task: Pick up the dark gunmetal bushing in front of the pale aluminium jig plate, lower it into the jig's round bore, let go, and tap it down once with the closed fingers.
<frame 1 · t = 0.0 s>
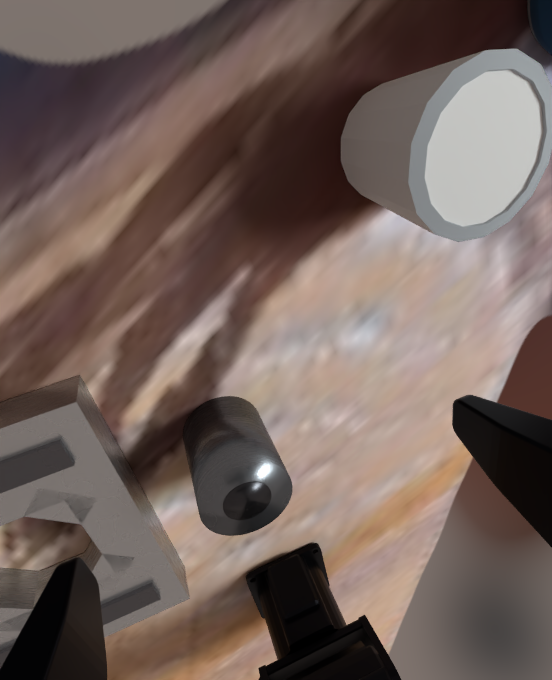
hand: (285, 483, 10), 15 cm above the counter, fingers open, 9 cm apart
white cylinder: (386, 144, 22), on the counter
bushing: (222, 429, 27), on the counter
jig: (35, 529, 26), on the counter
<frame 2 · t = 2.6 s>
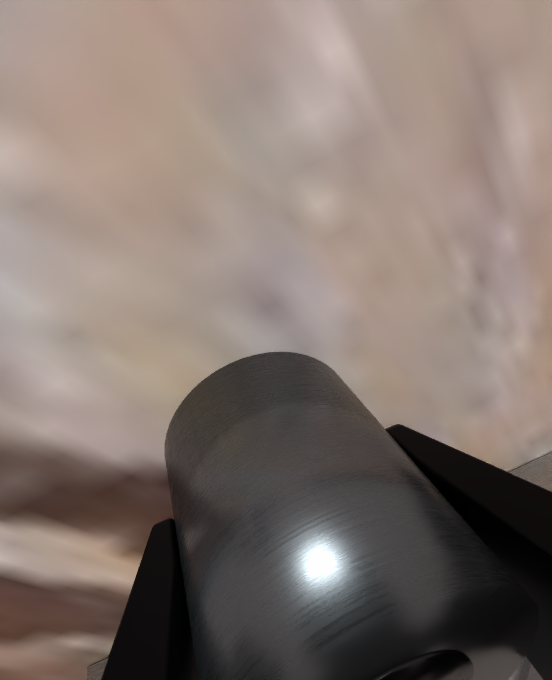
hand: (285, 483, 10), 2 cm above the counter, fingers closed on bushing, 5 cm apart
bushing: (264, 437, 11), on the counter, touching gripper
jig: (369, 634, 18), on the counter
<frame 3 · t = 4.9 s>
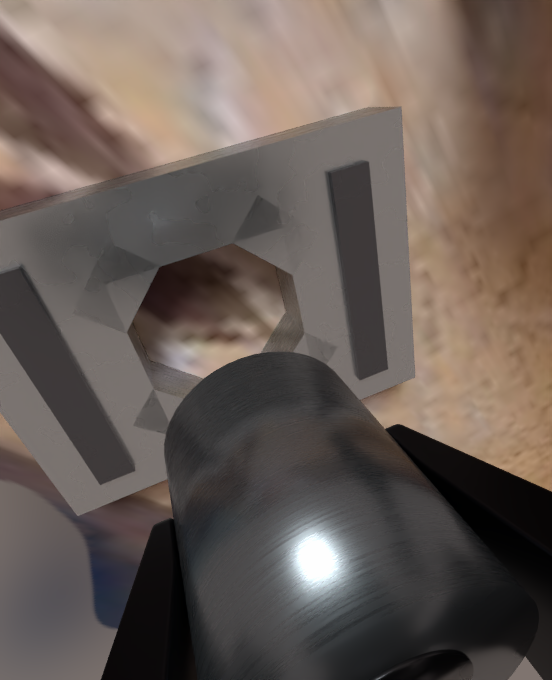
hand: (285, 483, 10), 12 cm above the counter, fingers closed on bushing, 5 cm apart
bushing: (263, 437, 11), point 10 cm above the counter, touching gripper
jig: (211, 309, 20), on the counter
when the fingers open (3 cm above the counter, at t = 7.5 s): bushing drops 2 cm, resting in jig.
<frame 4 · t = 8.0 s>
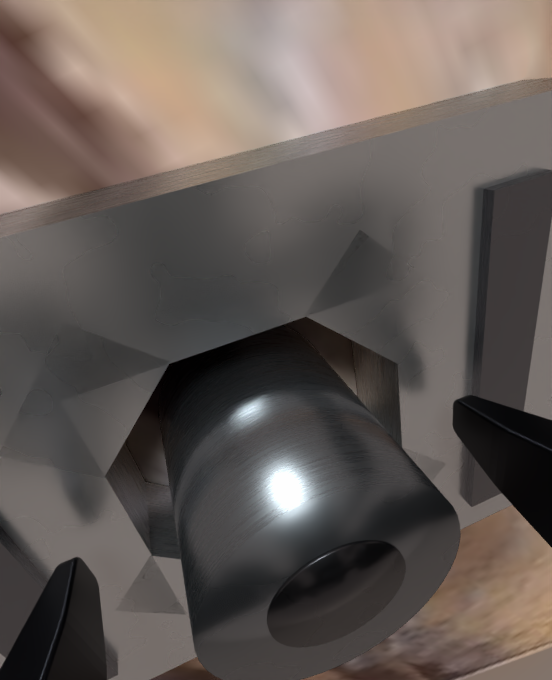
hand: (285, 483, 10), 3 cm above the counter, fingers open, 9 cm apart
bushing: (246, 400, 12), resting in jig
jig: (246, 402, 12), on the counter
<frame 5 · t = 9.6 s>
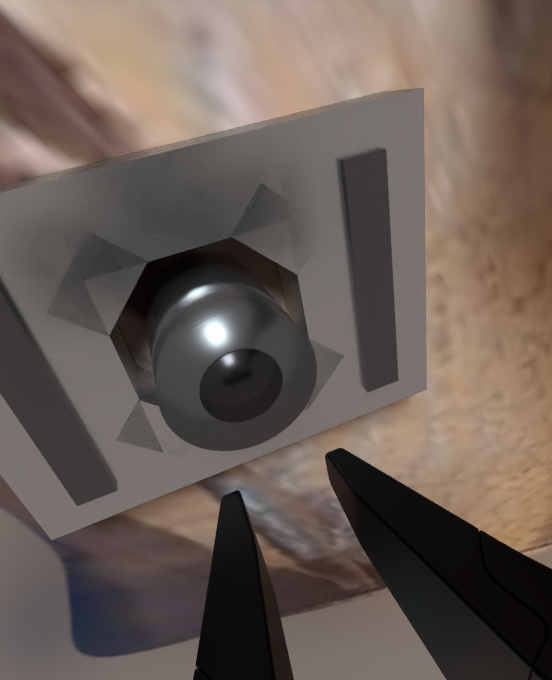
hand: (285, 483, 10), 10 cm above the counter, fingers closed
bushing: (206, 310, 18), resting in jig
jig: (205, 312, 18), on the counter
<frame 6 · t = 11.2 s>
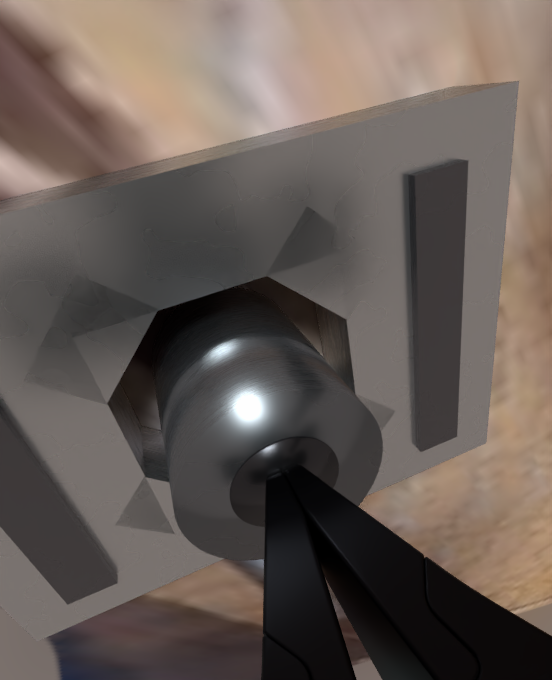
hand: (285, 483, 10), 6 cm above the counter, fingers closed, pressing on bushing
bushing: (226, 356, 15), resting in jig, touching gripper
jig: (226, 358, 15), on the counter
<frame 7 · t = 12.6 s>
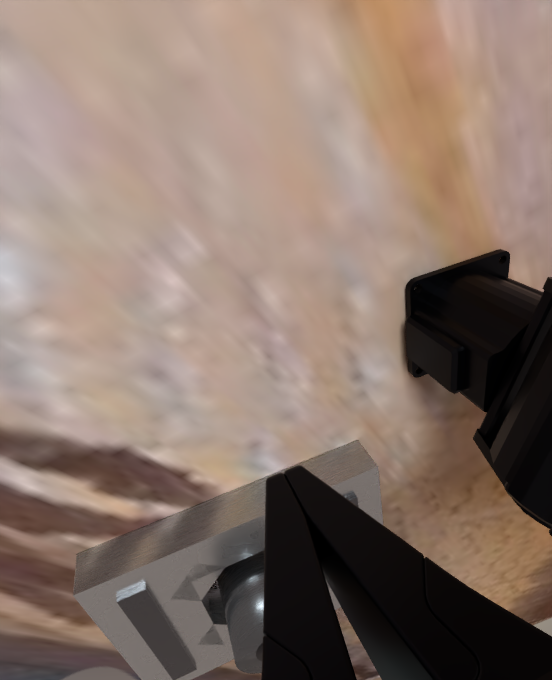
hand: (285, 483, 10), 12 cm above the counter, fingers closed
bushing: (250, 554, 29), resting in jig
jig: (249, 554, 29), on the counter
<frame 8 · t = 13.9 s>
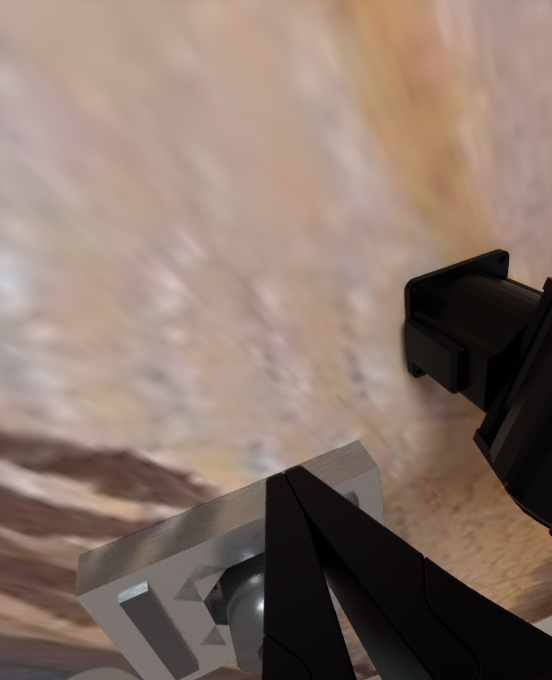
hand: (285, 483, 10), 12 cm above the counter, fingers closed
bushing: (251, 555, 29), resting in jig
jig: (251, 555, 29), on the counter
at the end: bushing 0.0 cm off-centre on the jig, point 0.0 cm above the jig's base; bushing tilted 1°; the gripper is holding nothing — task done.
